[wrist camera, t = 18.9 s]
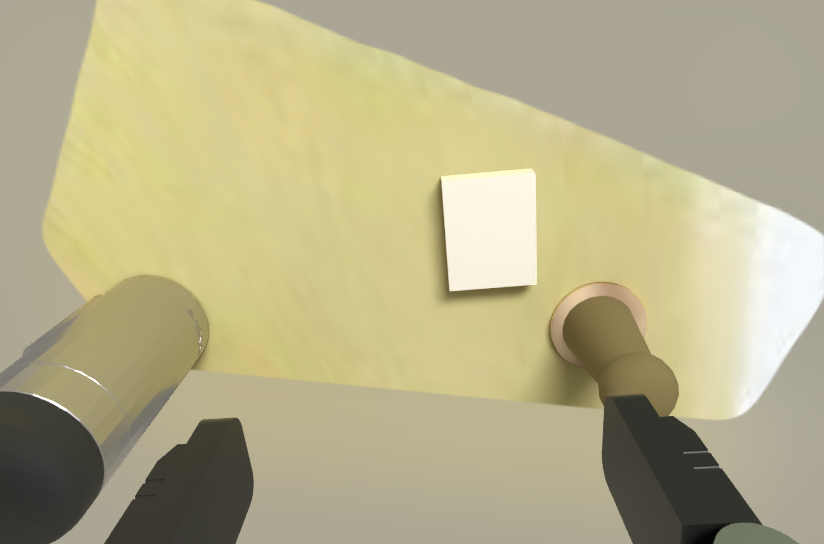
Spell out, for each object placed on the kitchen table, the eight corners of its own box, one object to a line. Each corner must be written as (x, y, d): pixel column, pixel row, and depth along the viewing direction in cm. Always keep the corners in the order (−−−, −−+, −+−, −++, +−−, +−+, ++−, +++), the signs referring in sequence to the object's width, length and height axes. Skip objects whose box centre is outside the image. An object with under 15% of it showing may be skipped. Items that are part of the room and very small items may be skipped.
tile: (449, 291, 45) (441, 181, 42) (448, 281, 47) (440, 175, 44) (536, 284, 45) (535, 173, 41) (531, 274, 47) (530, 167, 43)
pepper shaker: (617, 366, 49) (669, 449, 38) (551, 349, 48) (587, 429, 38) (646, 306, 47) (709, 377, 36) (578, 287, 46) (623, 354, 36)
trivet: (549, 368, 50) (551, 371, 49) (550, 285, 47) (551, 288, 46) (641, 362, 49) (643, 366, 49) (647, 278, 46) (650, 281, 46)
